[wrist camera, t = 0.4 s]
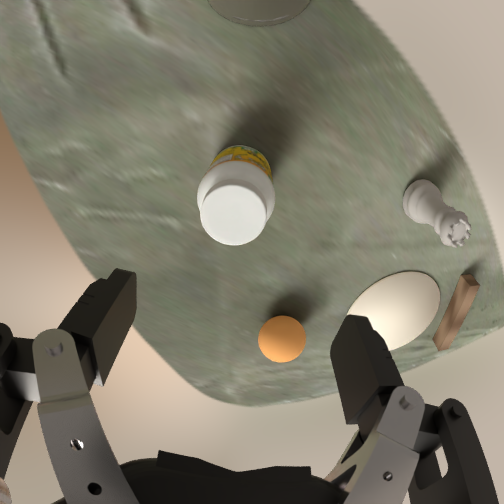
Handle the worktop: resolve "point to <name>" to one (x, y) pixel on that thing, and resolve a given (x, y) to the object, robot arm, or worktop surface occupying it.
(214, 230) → the supplement bottle
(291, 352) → the egg
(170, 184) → the worktop surface
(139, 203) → the worktop surface
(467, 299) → the rail
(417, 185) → the rook chess piece
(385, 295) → the disc
